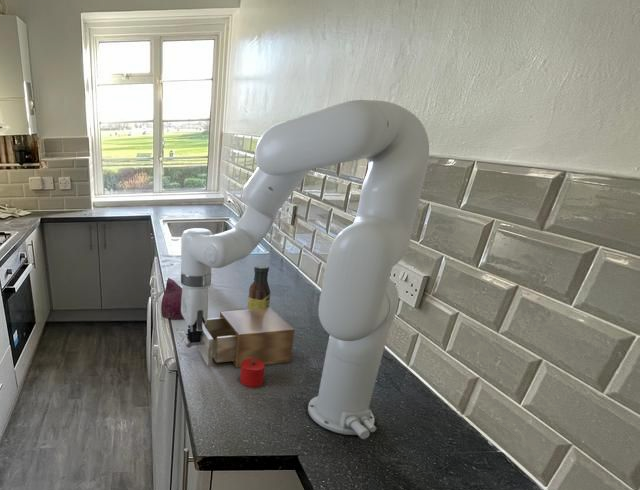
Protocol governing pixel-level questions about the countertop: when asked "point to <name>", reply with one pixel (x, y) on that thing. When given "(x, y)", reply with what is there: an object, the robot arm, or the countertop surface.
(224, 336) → the drawer
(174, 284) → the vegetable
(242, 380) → the red cylinder
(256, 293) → the sauce bottle
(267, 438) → the countertop surface
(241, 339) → the cabinet
